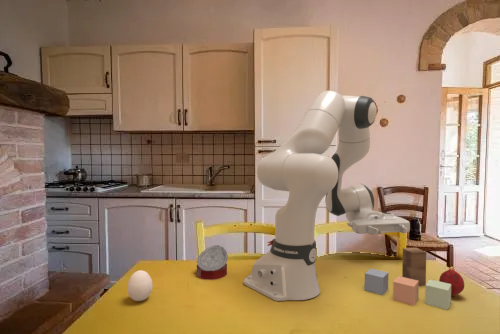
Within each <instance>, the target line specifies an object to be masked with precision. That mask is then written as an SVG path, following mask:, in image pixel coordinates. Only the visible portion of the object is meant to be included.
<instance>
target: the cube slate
mask: <svg viewBox="0 0 500 334" xmlns="http://www.w3.org/2000/svg"><path fill="white" fill-rule="evenodd" d="M388 290H389V271H386V270H385V271H384V270H379V269H375V268H371V267H370V268H369V269H368V270H367V271H365V273H364V291H366V292H369V293H373V294H377V295H380V296H384V294H385V293H386V292H387V291H388Z"/></svg>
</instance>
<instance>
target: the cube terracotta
mask: <svg viewBox="0 0 500 334" xmlns="http://www.w3.org/2000/svg"><path fill="white" fill-rule="evenodd" d="M392 284H393V286H392V287H393V288H392V290H393V291H392V299H393V301H396V302H400V303H403V304H407V305H410V306H416V303H417V302H418V300H419V287H420V286H419V281H418V280H414V279H409V278H405V277H402V275H401V276H396V278H395V279H394V280H393V282H392Z"/></svg>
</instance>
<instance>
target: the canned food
mask: <svg viewBox="0 0 500 334" xmlns="http://www.w3.org/2000/svg"><path fill="white" fill-rule="evenodd" d="M228 258H229V255H228V252H227V250H226V249H225V247H223V246H221V245H218V244H217V245H212V246H210V247H207V248H205V249H204V250H203V251H201V252H200V253H199V255H198V257H197V260H196V277H197V278H199V279H201V280H209V281H210V280H211V281H213V280H214V281H215V280H219V279H222V278H224V277H226V276H227V274H228V264H227V262H228Z"/></svg>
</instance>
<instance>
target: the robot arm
mask: <svg viewBox="0 0 500 334" xmlns="http://www.w3.org/2000/svg"><path fill="white" fill-rule="evenodd" d="M376 117H377V104H376V101H375V100H374V99H373V98H372V97H369V96H365V95H359V96H358V95H357V96H356V95H345V94H340V93H339V92H337V91H335V90H325V91H322V92H320V93H319V94H318V95H317V97H315V99H314V100H313V101H312V102H311V104H310V105H309V107H308V108H307V109H306V112H305V114H304V115H303V116H302V119H301V120H300V122H299V124H298V126H297V127H296V128H295V130H294V131H293V133H292V135H290V136H289V137H288V138H287V140H285V142H283V143H282V144H281V145H280V146H279V147H278V148H277V149H275V150H274V151H273V152H271V153H270V154H268V155H265V157H262V159H260V161H259V163H258V165H257V169H256V173H257V175H256V176H257V179H258V181H259V182H260V183H261V185H262V186H264V187H267V188H270V189H272V190H275V191H282V192H289V194H288V198H287V201H286V204H284V205H283V206H281V207H280V208H279V209H278V210H277V211H276V213H275V220H274V221H275V223H274V224H275V226H274V229H275V232H274V235H275V236H274V238H273V239H272V240H269V241H267V242H266V243H267V244H266V245H267V246H268V247H269V246H271V247H270V250H269V251H268V252H267V253H265V254H263V255H261V256H260V257H259V258H258V259H257V260H255V262H254V263H253V265H252V269H251V274H250V273H249V275H247V276H246V277H245V278H244V280H243V285H245V286H247V287H249V288H251V289H253V290H254V291H256V292H258V293H260V294H262V295H264V296H266V297H267V298H269V299H271V300H272V301H275V302H284V301H305V300H309V299H313V298H315V297H318V295H319V294H320V293H321V289H320V285H319V281H318V276H317V270H316V269H317V268H316V261H317V260H316V258H317V242H316V240H315V233H316V232H315V230H316V228H315V227H316V215H317V211H318V208H319V205H320V203H321V202H322V200H323V199H324V197H325V202H324V203H325V208H326V210H327V211H328V213H330V214H332V215H333V216H336V217H340V216H342V215H344V214H345V218H346V219H347V221H348V222H347V226H349V227H350V228H351V231H353V232H354V233H355V234H359V235H363V234H366V235H367V234H368V235H372V236H373V235H382V234H383V233H385V234H387V233H388V234H389V233H402V234H407V233H408V232H410V230H411V223H410V221H409V220H407V219H406V218H403V217H400V216H398V215H397V216H396V215H395V214H394V213H392V212H381V211H378V210H374V208H375V196H374V194H373V191H372V190H371V189H370V188H369V187H368V186H367V185H365V184H363V183H359V184H355V185H351V186H348V187H344V188H342V184H343V183H342V182H343V175H344V174H345V172H346V171H348V169H350V168H351V167H352V166H353V165H355V164H357V163H358V162H360V161H361V160H362V159H364V158H365V157H366V156H367V154H369V151H370V147H371V146H370V145H371V138H370V136H371V134H370V133H371V132H370V127H371V126H372V125H373V124H374V123H375V120H376ZM337 132H338V133H337ZM336 134H338V145H337V148H336V150H335V152H334V153H333V155H332V156H331V157H330V156H327V155H324V153H325V152H326V151H328V150H329V148H330V146H331V144H332V142H333V141H334V138H335V137H336Z"/></svg>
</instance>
